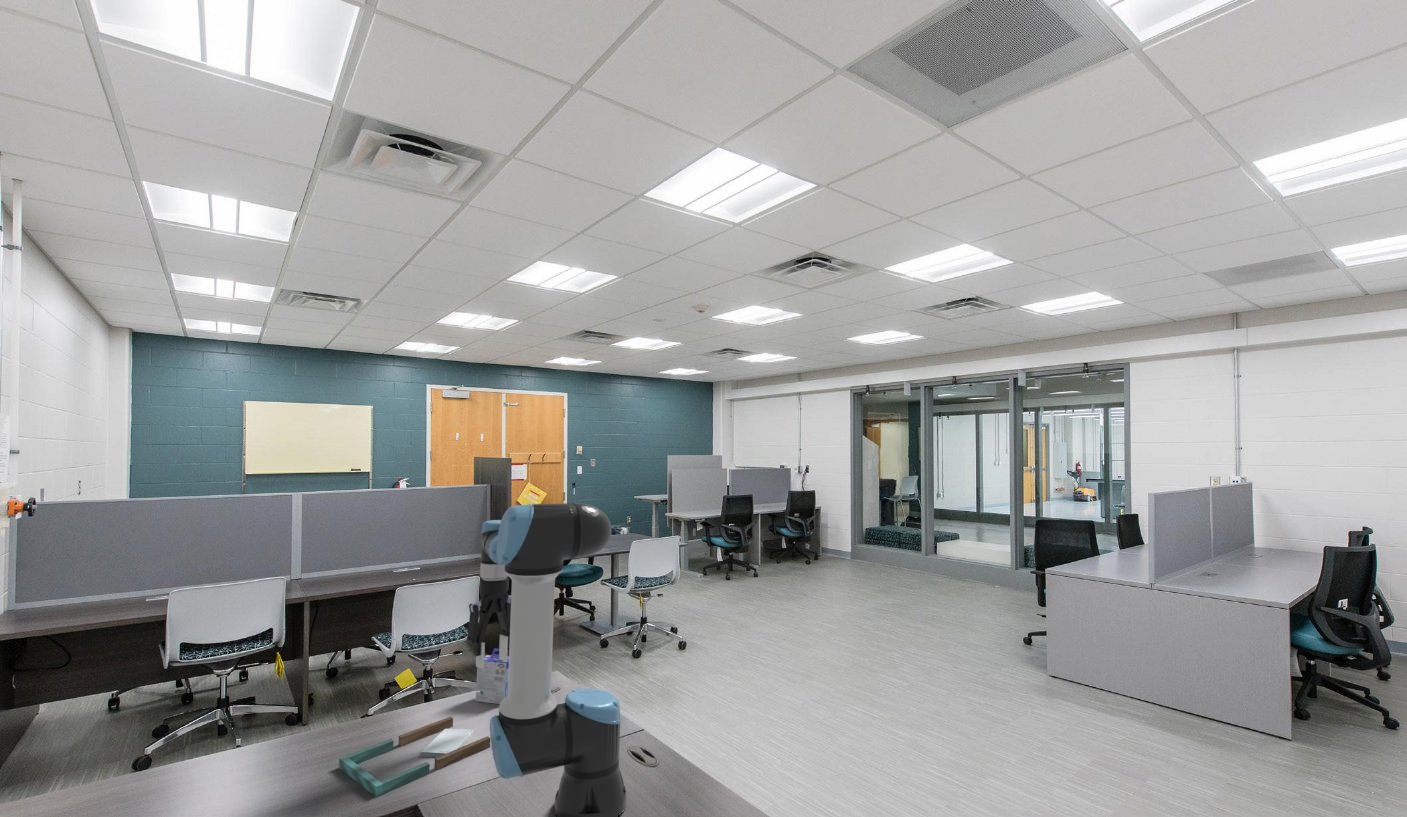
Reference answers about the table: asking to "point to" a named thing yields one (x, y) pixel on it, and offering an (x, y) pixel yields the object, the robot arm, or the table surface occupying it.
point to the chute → (381, 787)
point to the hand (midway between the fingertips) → (491, 663)
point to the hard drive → (447, 742)
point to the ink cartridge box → (492, 679)
